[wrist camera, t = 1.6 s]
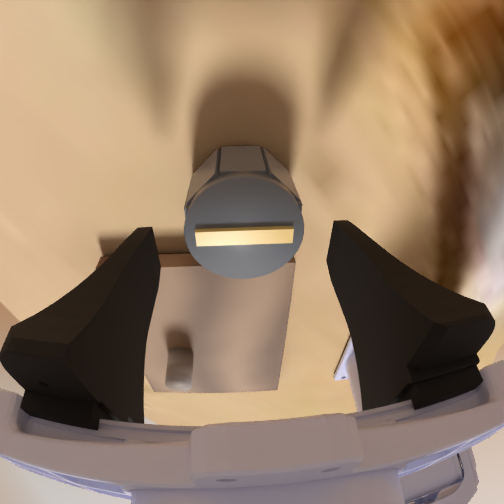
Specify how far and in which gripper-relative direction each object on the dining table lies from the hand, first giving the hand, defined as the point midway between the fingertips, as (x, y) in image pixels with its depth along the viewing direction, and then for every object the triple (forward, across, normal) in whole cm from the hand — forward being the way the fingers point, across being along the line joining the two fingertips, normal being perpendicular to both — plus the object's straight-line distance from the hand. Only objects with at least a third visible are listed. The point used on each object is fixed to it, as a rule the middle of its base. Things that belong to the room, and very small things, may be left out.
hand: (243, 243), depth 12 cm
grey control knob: (+5, 0, 0) cm, 5 cm away
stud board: (+5, +3, +12) cm, 13 cm away
